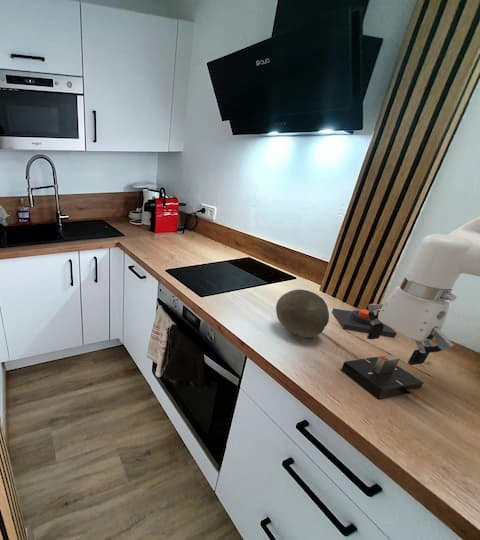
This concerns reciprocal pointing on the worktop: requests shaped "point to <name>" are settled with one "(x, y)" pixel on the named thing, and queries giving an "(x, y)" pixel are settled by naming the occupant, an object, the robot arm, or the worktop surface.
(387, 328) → the grey flat block
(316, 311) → the cantaloupe
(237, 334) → the worktop surface
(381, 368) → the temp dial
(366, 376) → the panel
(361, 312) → the kettle button
